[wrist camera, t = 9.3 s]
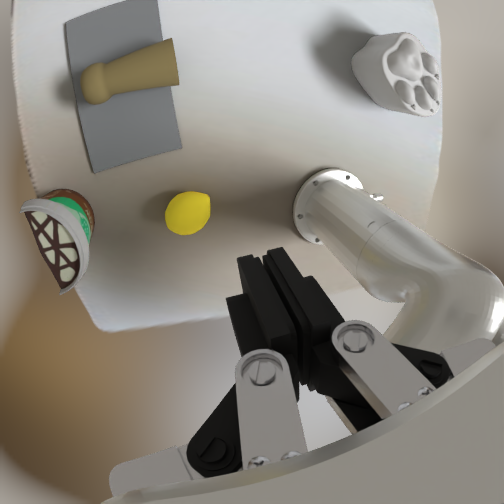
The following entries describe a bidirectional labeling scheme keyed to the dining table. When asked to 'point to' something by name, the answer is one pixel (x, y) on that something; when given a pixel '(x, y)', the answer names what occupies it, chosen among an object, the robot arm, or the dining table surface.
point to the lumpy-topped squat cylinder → (399, 74)
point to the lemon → (188, 212)
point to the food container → (62, 233)
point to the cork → (131, 73)
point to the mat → (125, 104)
